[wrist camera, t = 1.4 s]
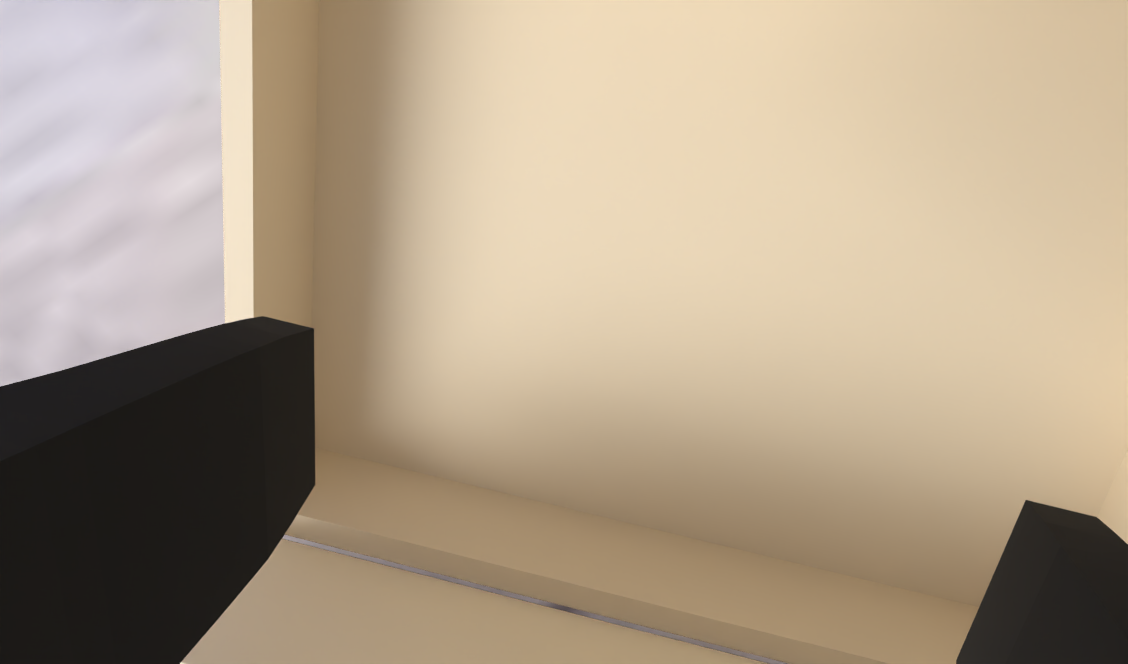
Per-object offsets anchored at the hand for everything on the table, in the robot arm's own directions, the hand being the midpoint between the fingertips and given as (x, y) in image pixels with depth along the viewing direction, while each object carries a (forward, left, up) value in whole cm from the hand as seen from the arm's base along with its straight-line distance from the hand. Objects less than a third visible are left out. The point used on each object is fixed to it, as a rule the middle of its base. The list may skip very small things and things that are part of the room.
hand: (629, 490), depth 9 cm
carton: (0, 0, -10) cm, 10 cm away
